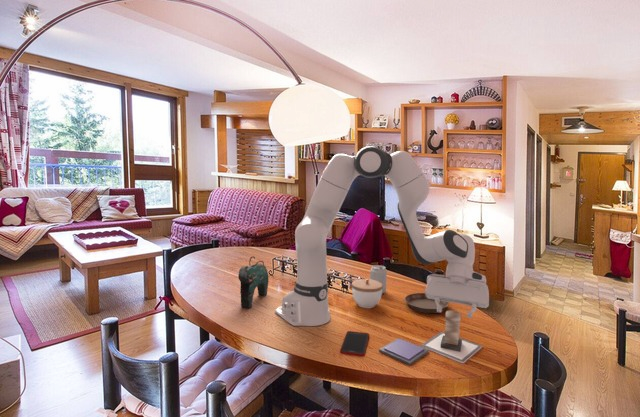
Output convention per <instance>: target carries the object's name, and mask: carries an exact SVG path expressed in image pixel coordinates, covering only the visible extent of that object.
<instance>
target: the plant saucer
mask: <svg viewBox="0 0 640 417" xmlns="http://www.w3.org/2000/svg"><path fill="white" fill-rule="evenodd" d="M404 300H405V303H406V304H407V305H408V307H409V308H410V309H412V310H413V309H414V311H416V312H419V313H423V312H424V313H425V314H436V313H439V312H437V305H436V303H435V300H434V299H428V298H427V297H426V295H425V292H414V293H410V294H407V295H406V296H405V297H404ZM439 305H440V306H442V312H444V311H445V310H446V309H447V308H448V306H449V305H450V302H446V301H440V302H439Z"/></svg>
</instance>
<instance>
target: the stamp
mask: <svg viewBox="0 0 640 417" xmlns="http://www.w3.org/2000/svg"><path fill="white" fill-rule="evenodd" d="M444 317H445V326H444V327H445V328H444V332H445V336H443V337H442V341H441V347H440V348H444V349H449V350H454V351H458V352H460V351H461V346H462V339H463V338H462V339H459V338H460V327H461V326H460V324H461V319H462V313H461V312H459V311H457V310H451V309H450V310H446V311H445V316H444Z"/></svg>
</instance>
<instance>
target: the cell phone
mask: <svg viewBox="0 0 640 417" xmlns="http://www.w3.org/2000/svg"><path fill="white" fill-rule="evenodd" d="M369 338H370V333H367V332H360V331H352V330H348V331H346V334H345V337H344V339H343V341H342V344H341V347H340V349H339V353H340V354H343V355H350V356H357V357H364V356H365V354H366V349H367V347H368V343H369Z"/></svg>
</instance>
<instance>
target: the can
mask: <svg viewBox="0 0 640 417" xmlns="http://www.w3.org/2000/svg"><path fill="white" fill-rule="evenodd" d="M387 274H388V270H387V269H386V266H384V265H382V264H381V265H378V264H377V265H375V264H374V265H371V268H370V273H369V279H370V280H375V281H378V282H380V283H382V285H383V288H382V295H384V294H385V293H386V292H387ZM383 293H384V294H383Z"/></svg>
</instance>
